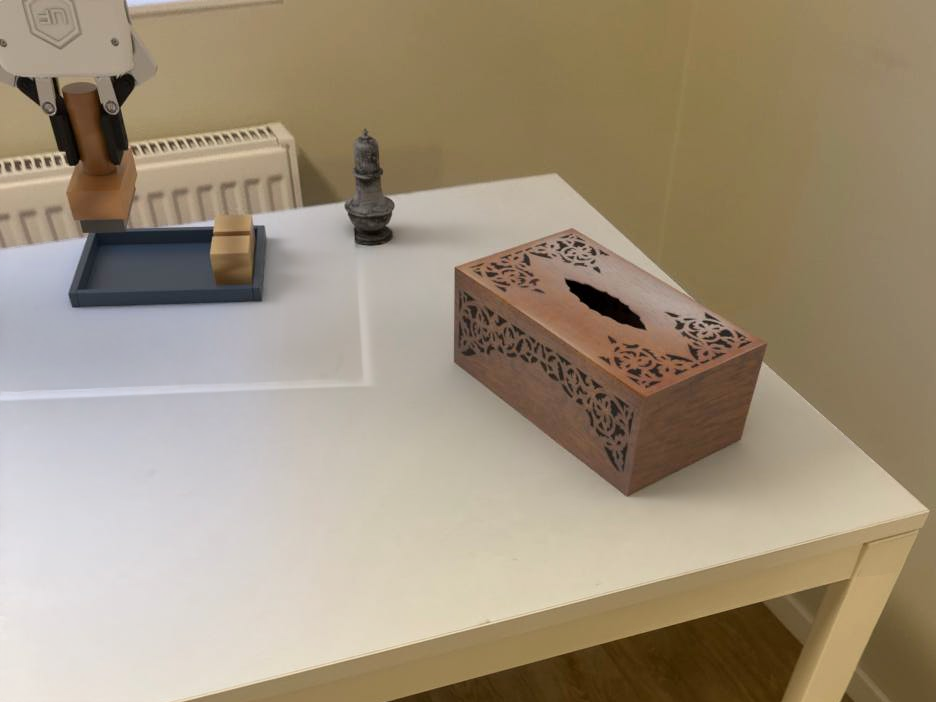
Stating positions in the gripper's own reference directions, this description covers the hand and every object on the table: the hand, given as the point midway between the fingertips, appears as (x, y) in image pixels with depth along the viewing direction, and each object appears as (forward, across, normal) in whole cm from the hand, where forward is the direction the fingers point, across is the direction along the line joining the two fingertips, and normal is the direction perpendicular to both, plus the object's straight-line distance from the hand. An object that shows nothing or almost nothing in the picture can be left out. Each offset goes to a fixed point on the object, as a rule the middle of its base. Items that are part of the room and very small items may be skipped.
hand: (96, 157), depth 82 cm
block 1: (+18, +8, +18) cm, 27 cm away
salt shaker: (+19, +24, +24) cm, 39 cm away
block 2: (+18, +8, +13) cm, 24 cm away
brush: (+5, 0, 0) cm, 5 cm away
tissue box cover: (+19, +43, -12) cm, 49 cm away
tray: (+19, +2, +16) cm, 25 cm away
